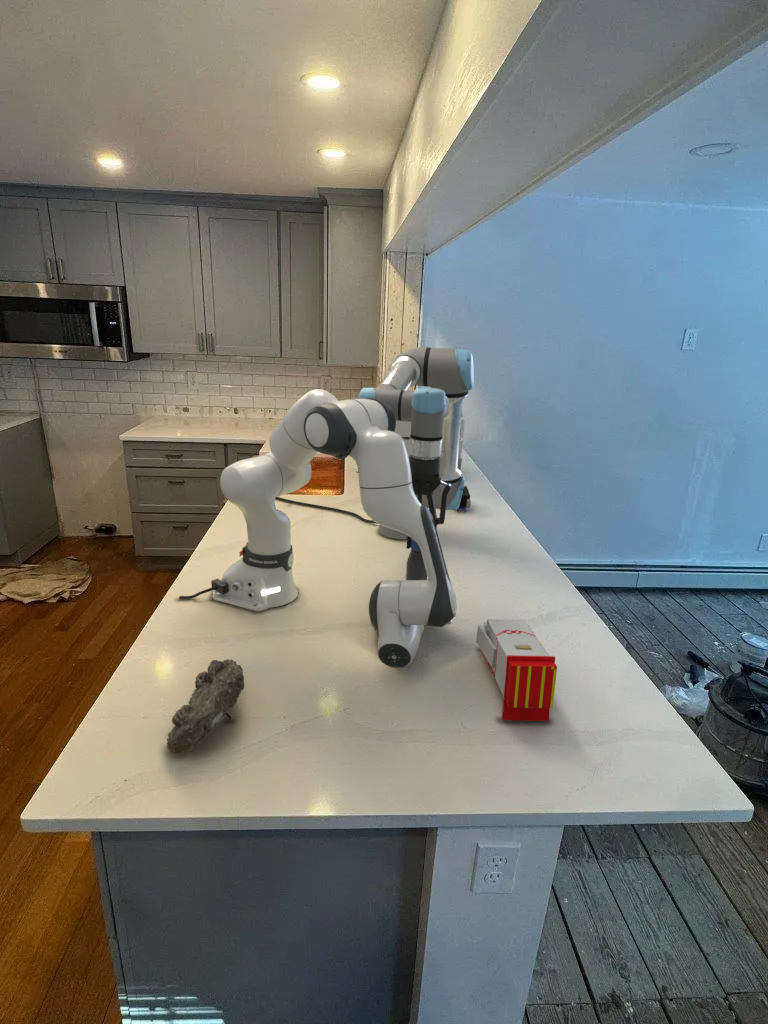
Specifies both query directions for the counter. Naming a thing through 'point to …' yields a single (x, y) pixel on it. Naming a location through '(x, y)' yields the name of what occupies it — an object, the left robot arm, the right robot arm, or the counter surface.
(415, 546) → the cap
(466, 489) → the figurine character
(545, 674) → the toy
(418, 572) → the bottle
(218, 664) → the fossil
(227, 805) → the counter surface
